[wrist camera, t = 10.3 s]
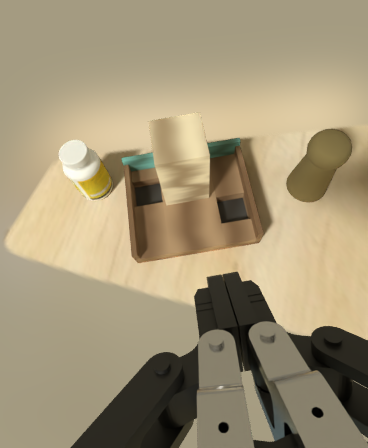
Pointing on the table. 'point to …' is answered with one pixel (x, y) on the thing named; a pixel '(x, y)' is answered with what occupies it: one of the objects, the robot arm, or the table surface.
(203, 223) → the trap lane
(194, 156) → the maple block
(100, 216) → the table surface
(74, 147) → the supplement bottle
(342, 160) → the olive pawn
